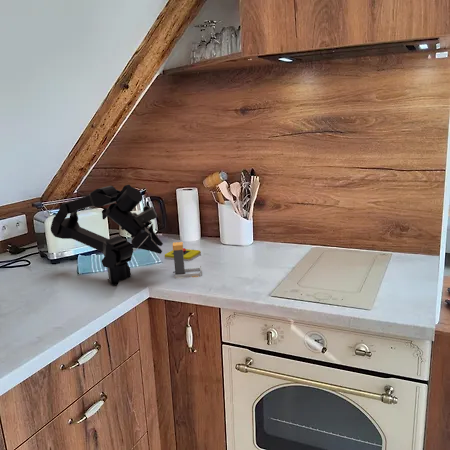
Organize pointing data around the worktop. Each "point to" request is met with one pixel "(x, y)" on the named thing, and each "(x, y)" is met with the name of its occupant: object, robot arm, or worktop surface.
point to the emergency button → (184, 254)
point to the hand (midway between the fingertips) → (161, 248)
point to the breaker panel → (190, 274)
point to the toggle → (178, 258)
